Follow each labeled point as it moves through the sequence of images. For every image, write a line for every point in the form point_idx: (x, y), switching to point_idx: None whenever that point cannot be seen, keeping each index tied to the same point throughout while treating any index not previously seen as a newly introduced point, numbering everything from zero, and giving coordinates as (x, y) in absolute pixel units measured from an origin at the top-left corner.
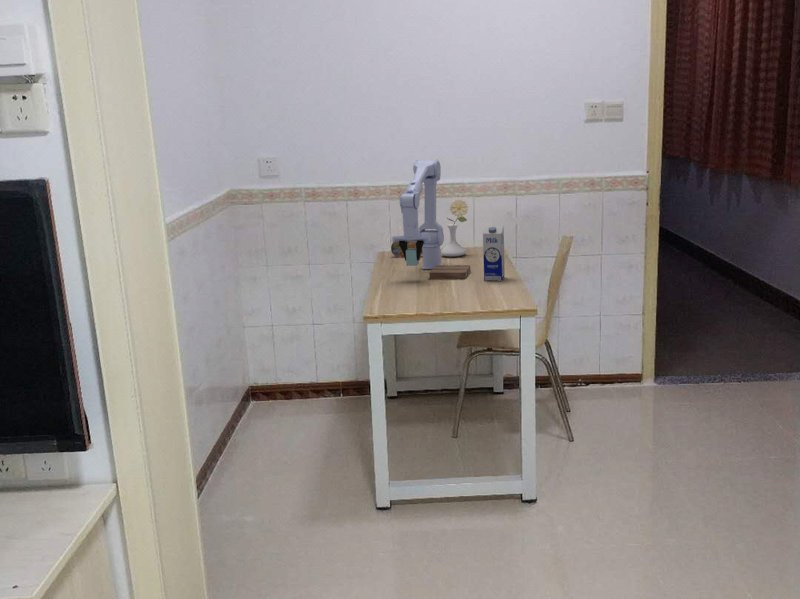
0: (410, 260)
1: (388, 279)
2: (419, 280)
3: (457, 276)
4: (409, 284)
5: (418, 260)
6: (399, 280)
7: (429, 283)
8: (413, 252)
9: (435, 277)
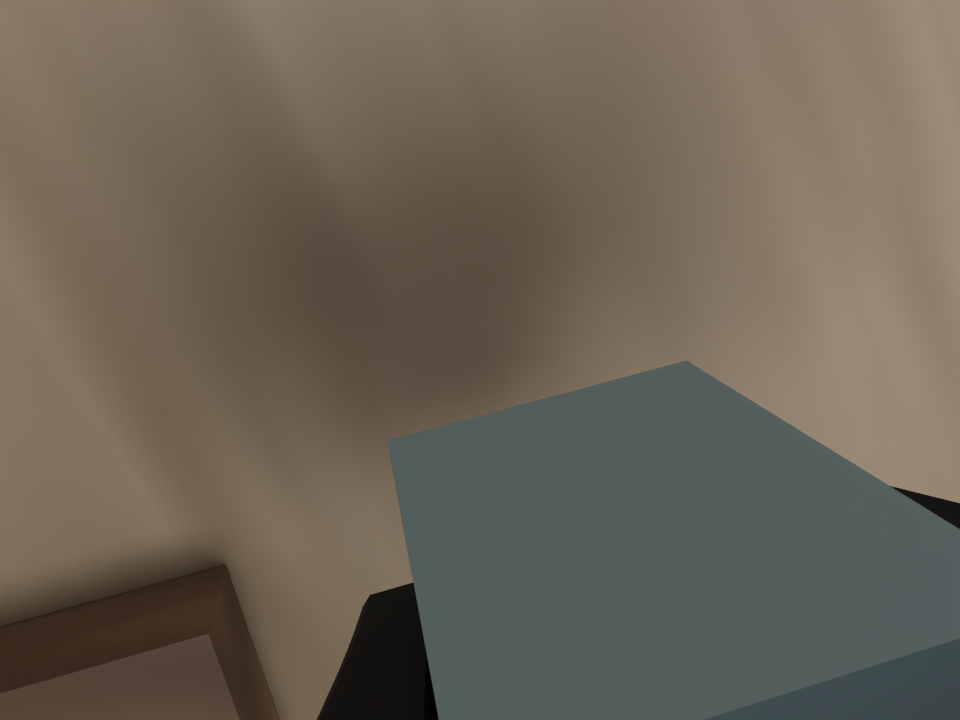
0: (615, 445)
1: (948, 362)
2: (374, 430)
3: None
4: (415, 55)
5: (370, 596)
6: (739, 338)
7: (36, 236)
8: (579, 655)
9: (102, 615)
